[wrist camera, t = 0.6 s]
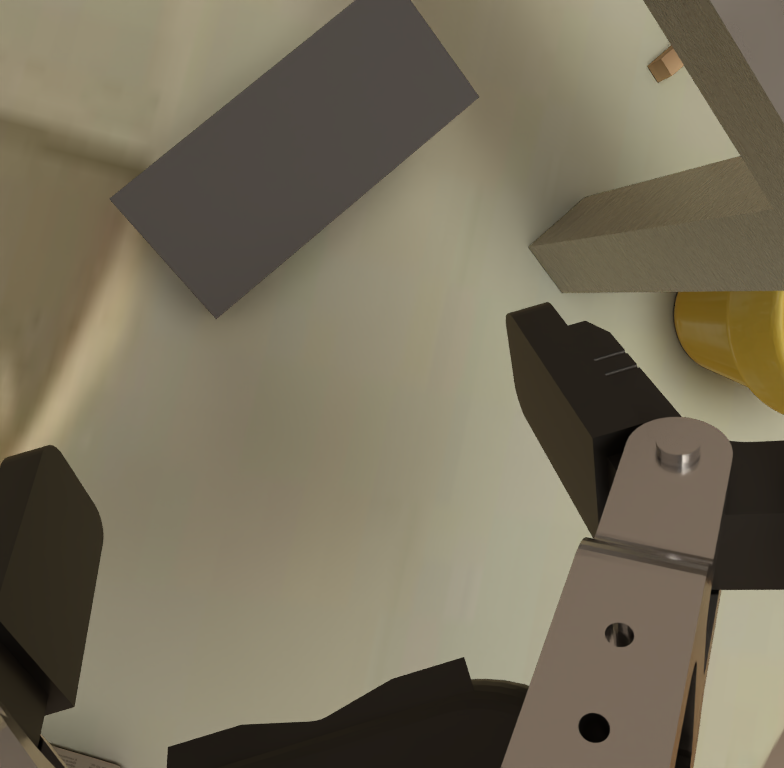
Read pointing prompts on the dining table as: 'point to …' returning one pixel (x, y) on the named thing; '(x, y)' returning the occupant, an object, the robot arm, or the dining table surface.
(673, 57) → the bay
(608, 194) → the grey metal arch
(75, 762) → the coffee box
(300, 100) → the dark grey box
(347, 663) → the dining table surface
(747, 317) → the plant pot
